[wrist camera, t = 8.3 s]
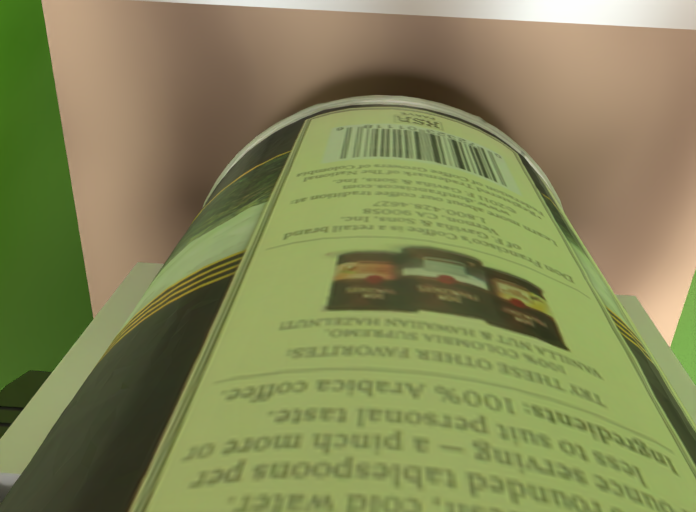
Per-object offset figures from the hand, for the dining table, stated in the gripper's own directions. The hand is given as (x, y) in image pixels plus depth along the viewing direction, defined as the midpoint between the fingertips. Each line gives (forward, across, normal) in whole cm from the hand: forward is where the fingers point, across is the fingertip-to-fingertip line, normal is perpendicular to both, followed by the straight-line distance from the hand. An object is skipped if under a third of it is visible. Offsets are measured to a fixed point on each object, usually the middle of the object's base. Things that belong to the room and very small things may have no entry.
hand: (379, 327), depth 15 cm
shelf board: (+8, 0, +1) cm, 8 cm away
